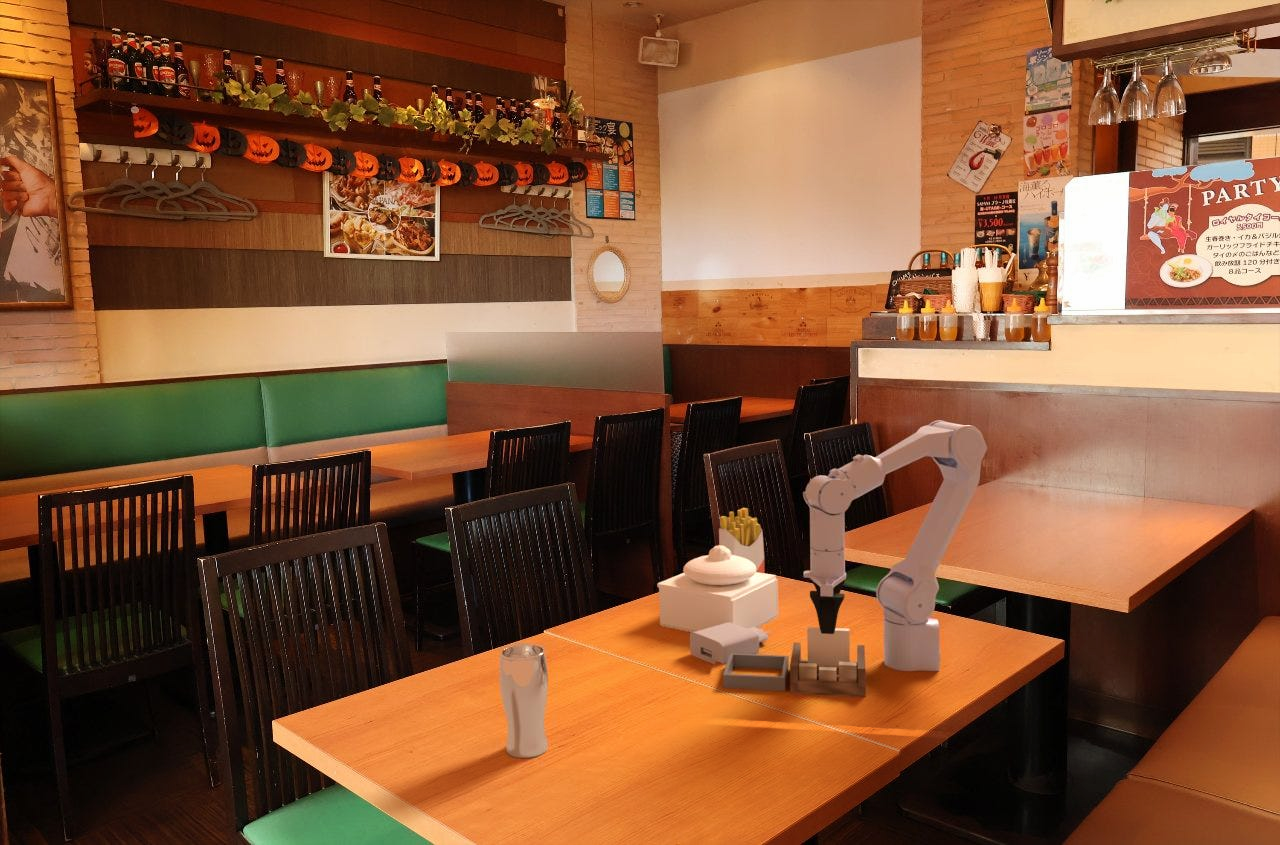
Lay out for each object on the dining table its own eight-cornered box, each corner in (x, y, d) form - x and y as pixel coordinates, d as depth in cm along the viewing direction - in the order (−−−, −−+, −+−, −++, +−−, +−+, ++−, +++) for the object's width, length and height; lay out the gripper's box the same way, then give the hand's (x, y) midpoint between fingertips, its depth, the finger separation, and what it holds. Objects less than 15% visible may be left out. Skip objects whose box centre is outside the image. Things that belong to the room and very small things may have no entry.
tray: (788, 672, 170) (788, 655, 169) (785, 695, 160) (784, 677, 159) (730, 669, 172) (730, 653, 171) (723, 692, 162) (722, 674, 161)
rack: (864, 674, 168) (864, 644, 167) (865, 701, 156) (865, 670, 155) (794, 670, 170) (793, 641, 170) (790, 697, 159) (789, 666, 158)
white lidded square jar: (733, 642, 186) (732, 561, 184) (658, 626, 197) (655, 549, 195) (778, 617, 200) (777, 542, 198) (705, 603, 211) (703, 532, 209)
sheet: (849, 674, 166) (849, 628, 165) (849, 676, 165) (849, 631, 164) (808, 672, 167) (807, 627, 166) (807, 674, 166) (807, 629, 165)
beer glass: (552, 737, 147) (547, 641, 145) (549, 758, 140) (544, 658, 138) (505, 739, 146) (501, 643, 145) (501, 761, 140) (495, 660, 138)
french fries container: (766, 586, 222) (764, 508, 220) (736, 597, 214) (734, 517, 212) (750, 582, 225) (748, 506, 223) (720, 593, 218) (718, 514, 215)
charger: (783, 649, 181) (723, 669, 173) (749, 637, 189) (690, 655, 180) (783, 625, 181) (722, 643, 172) (749, 613, 188) (689, 630, 179)
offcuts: (856, 688, 159) (856, 662, 159) (856, 692, 158) (856, 665, 157) (799, 685, 161) (799, 659, 161) (799, 689, 160) (799, 663, 159)
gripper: (805, 536, 171) (806, 611, 173) (801, 557, 157) (802, 638, 159) (846, 537, 170) (846, 613, 171) (845, 558, 156) (846, 640, 157)
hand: (828, 625), depth 165 cm, fingers open, 7 cm apart
